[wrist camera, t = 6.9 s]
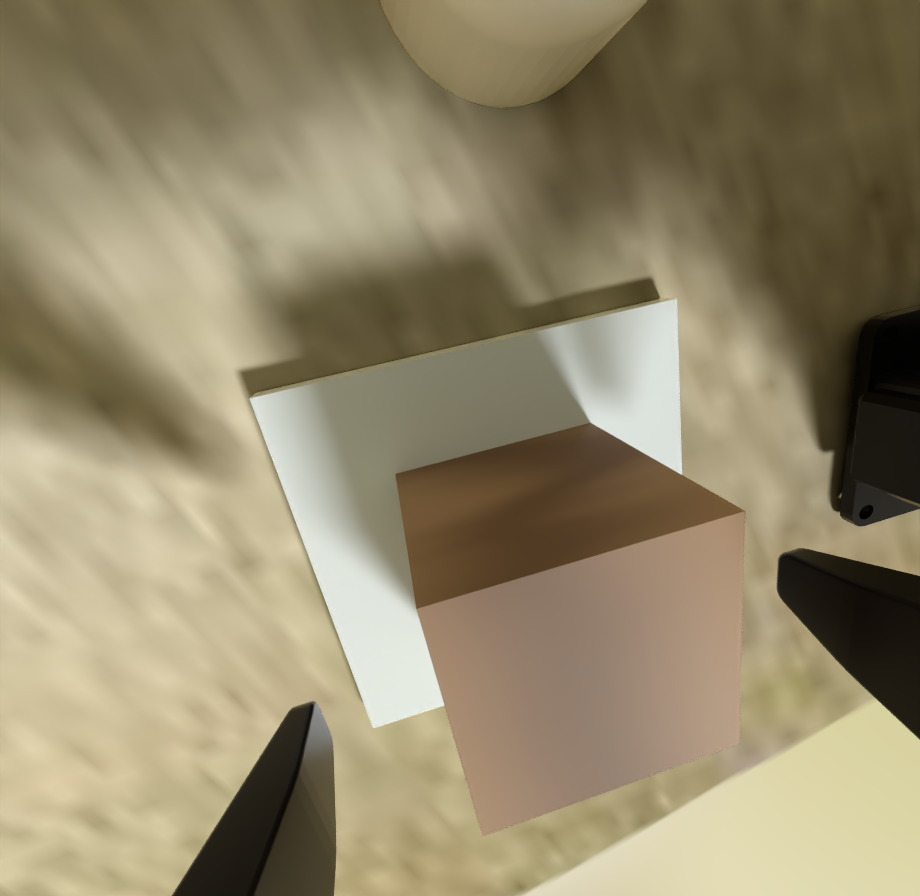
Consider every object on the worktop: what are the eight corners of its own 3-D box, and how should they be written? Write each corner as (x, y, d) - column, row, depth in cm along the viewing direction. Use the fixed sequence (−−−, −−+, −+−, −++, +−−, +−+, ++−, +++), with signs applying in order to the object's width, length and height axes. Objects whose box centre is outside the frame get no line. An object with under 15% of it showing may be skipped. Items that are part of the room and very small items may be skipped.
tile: (661, 298, 11) (676, 298, 11) (674, 614, 15) (686, 627, 14) (255, 392, 10) (249, 398, 10) (372, 710, 14) (373, 728, 13)
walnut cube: (590, 422, 11) (744, 510, 7) (607, 584, 13) (739, 744, 8) (395, 474, 11) (416, 609, 6) (440, 635, 13) (482, 836, 8)
